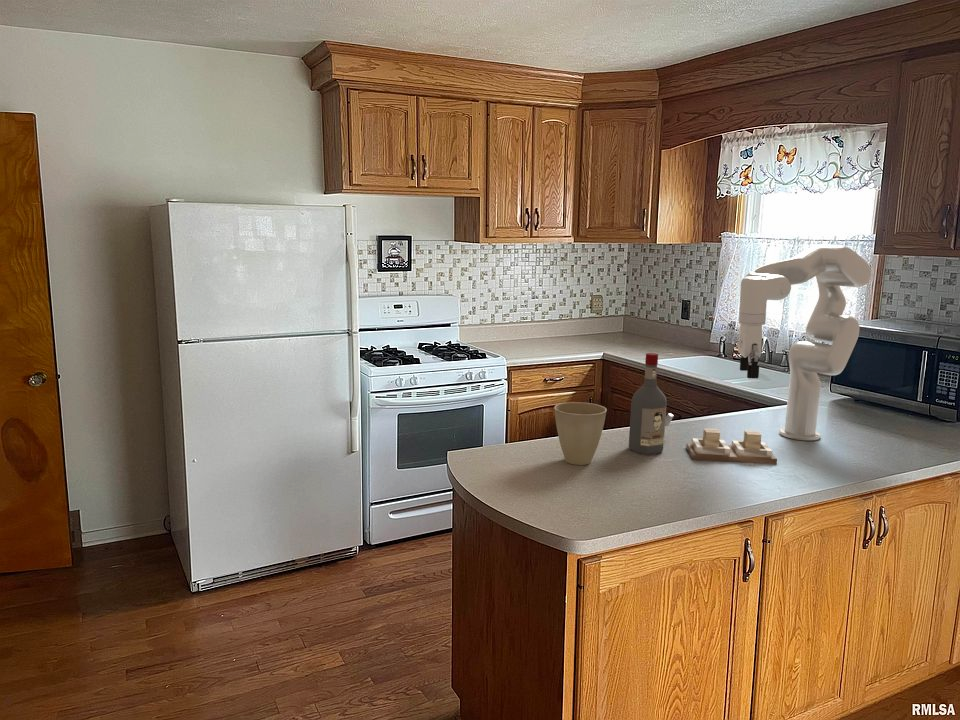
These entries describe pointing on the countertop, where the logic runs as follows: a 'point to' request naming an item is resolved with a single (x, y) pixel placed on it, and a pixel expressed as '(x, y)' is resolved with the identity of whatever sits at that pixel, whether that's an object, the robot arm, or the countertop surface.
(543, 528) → the countertop surface
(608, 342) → the countertop surface
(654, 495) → the countertop surface
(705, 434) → the tan wooden block
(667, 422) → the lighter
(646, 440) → the liquor
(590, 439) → the plant pot
